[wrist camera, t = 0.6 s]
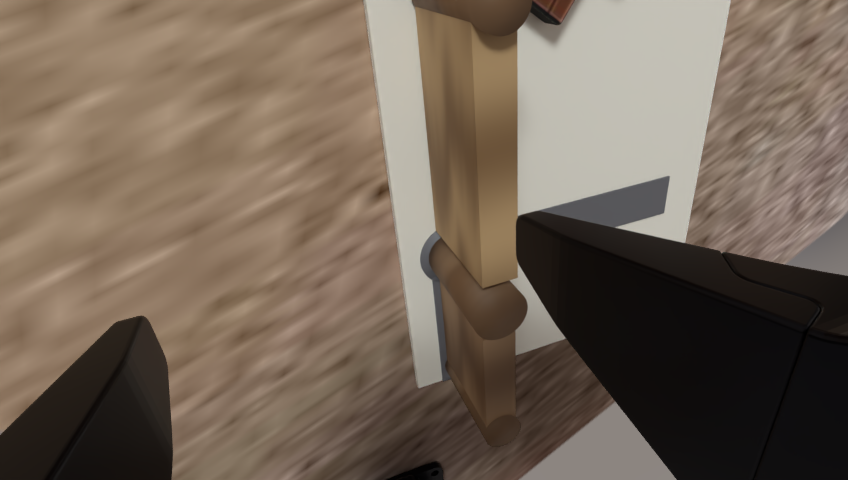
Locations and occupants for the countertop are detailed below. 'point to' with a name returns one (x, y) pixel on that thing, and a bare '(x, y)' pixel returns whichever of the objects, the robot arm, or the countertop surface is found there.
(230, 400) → the countertop surface
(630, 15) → the card
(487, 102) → the gate panel
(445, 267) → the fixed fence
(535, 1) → the decorative fence
